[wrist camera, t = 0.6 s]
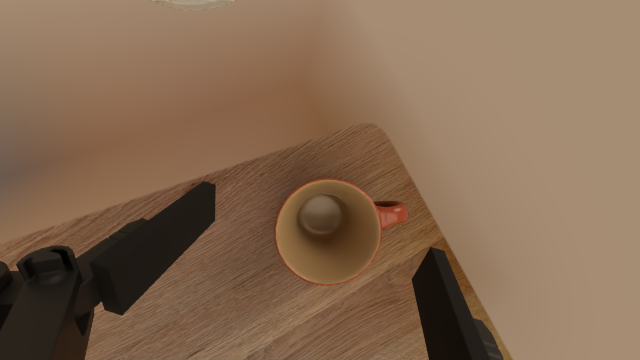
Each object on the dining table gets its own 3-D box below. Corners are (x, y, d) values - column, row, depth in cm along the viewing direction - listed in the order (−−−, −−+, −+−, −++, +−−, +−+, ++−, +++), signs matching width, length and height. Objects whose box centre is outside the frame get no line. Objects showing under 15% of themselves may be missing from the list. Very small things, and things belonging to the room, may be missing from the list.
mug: (292, 254, 29) (285, 296, 19) (279, 185, 29) (264, 189, 19) (386, 235, 30) (427, 265, 20) (373, 167, 30) (409, 161, 19)
